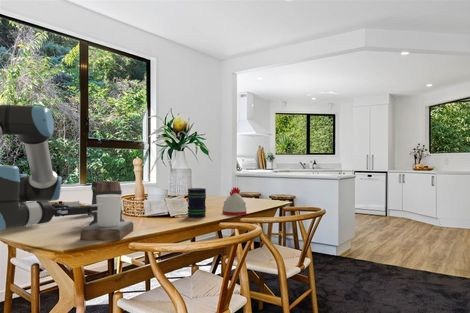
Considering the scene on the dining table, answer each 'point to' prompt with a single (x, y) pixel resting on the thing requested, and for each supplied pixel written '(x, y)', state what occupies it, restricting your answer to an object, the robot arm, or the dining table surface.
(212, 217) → the dining table surface
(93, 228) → the dock
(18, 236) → the dining table surface
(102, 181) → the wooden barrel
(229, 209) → the pom-pom beanie
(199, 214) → the storage jar
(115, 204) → the candle holder
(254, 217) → the dining table surface
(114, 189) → the tankard
